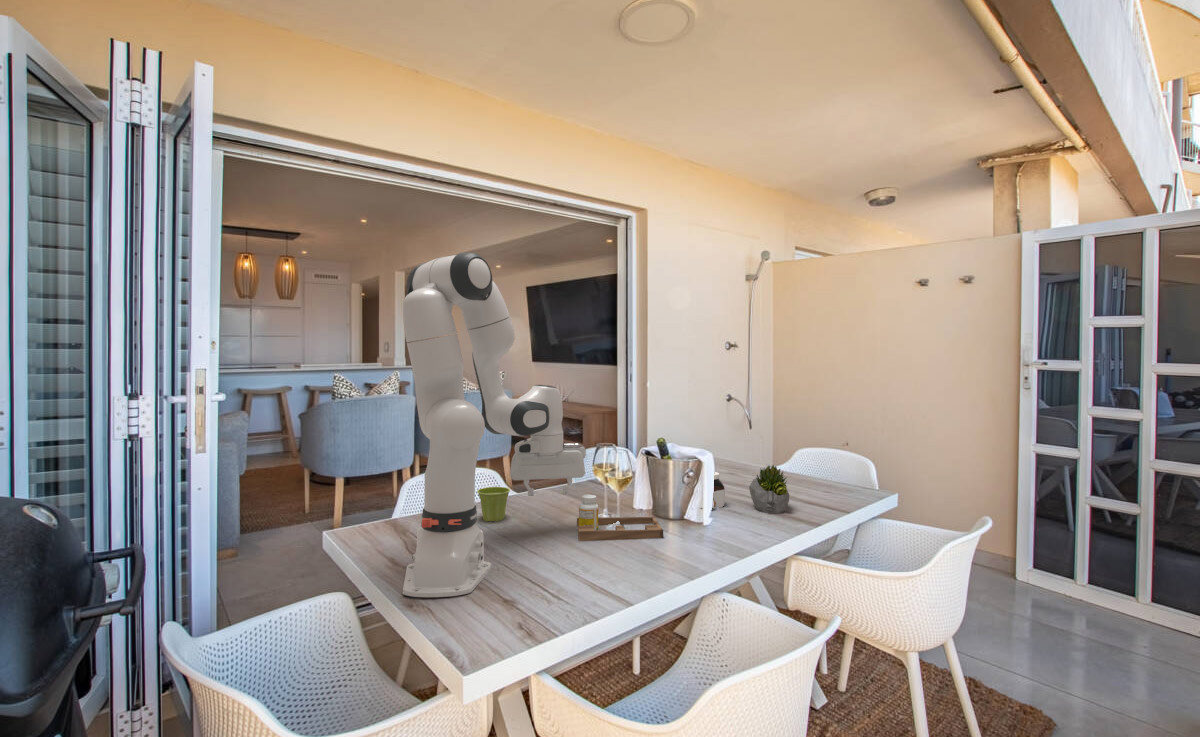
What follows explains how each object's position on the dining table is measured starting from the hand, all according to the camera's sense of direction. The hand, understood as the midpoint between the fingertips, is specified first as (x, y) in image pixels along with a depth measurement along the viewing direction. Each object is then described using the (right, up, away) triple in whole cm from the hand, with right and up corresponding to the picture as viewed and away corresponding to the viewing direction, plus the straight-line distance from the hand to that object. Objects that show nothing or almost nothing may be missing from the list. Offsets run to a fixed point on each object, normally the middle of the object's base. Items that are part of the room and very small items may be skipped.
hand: (548, 494), depth 152 cm
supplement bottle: (+11, -10, 0) cm, 15 cm away
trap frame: (+19, -10, -1) cm, 22 cm away
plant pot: (-17, -10, +11) cm, 23 cm away
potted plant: (+66, -11, +21) cm, 70 cm away
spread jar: (+47, -11, +22) cm, 53 cm away
